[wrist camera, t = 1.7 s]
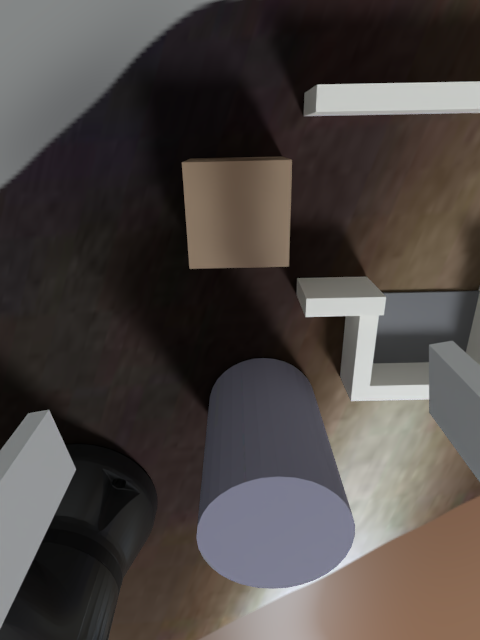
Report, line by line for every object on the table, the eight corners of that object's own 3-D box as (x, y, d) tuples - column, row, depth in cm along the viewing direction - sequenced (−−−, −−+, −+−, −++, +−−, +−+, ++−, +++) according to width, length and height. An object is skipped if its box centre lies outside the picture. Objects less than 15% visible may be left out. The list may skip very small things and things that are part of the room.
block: (196, 248, 34) (189, 268, 29) (190, 158, 32) (181, 162, 26) (280, 246, 34) (288, 266, 29) (282, 156, 32) (292, 160, 26)
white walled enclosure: (293, 377, 39) (300, 409, 35) (304, 93, 30) (317, 84, 25) (521, 372, 39) (559, 403, 35) (607, 87, 30) (674, 77, 25)
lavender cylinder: (307, 347, 38) (348, 464, 24) (319, 434, 42) (360, 577, 28) (198, 366, 39) (179, 490, 25) (221, 450, 43) (215, 597, 29)
